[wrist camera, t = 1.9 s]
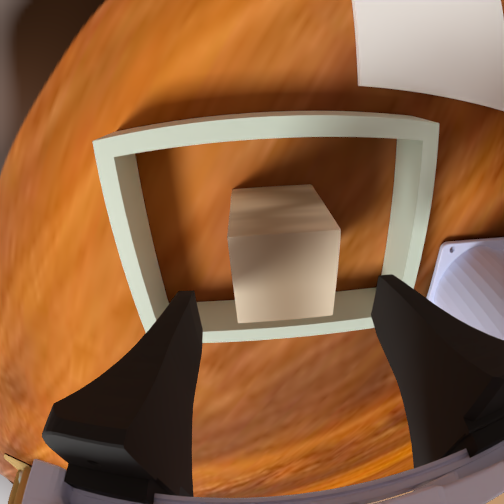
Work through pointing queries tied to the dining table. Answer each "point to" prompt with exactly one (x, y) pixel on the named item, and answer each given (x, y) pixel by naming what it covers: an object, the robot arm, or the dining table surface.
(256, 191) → the ash block
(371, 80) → the white mat
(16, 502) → the hourglass
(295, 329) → the pale grey-green open frame
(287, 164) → the dining table surface
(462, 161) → the dining table surface
